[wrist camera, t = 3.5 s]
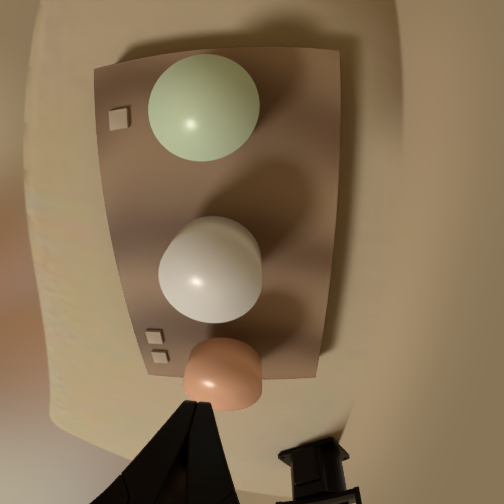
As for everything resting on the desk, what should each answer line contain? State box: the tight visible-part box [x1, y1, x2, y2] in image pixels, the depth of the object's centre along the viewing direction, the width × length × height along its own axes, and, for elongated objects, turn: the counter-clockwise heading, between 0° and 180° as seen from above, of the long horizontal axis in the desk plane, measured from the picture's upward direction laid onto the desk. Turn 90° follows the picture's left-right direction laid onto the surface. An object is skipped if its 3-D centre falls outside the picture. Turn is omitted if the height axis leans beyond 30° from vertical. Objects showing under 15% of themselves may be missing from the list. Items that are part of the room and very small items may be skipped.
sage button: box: [148, 54, 260, 161], centre depth 12 cm, size 4×4×2 cm
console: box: [94, 46, 341, 379], centre depth 16 cm, size 20×12×2 cm, turn 1°
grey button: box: [158, 216, 262, 323], centre depth 14 cm, size 4×4×2 cm
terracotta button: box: [183, 337, 262, 411], centre depth 17 cm, size 4×4×2 cm
